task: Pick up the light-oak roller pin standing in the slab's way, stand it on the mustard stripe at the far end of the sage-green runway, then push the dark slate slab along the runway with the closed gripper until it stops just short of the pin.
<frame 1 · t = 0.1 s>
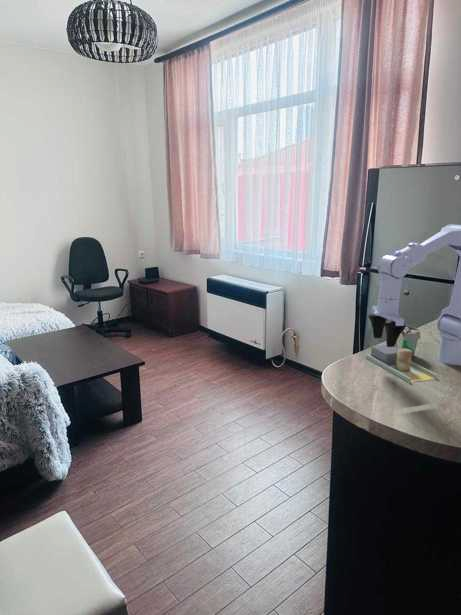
hand: (383, 342, 126), 10 cm above the countertop, fingers open, 7 cm apart
runway: (398, 370, 131), on the countertop
food container: (406, 358, 141), on the countertop
slab: (387, 360, 135), point 1 cm above the countertop, touching runway
roller pin: (402, 369, 129), point 1 cm above the countertop, touching runway
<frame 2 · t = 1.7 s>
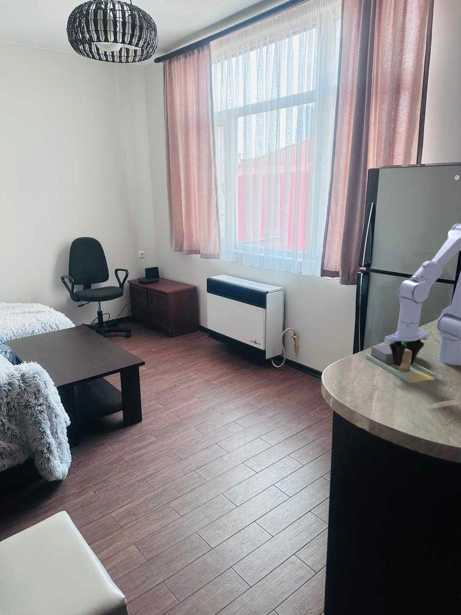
hand: (403, 364, 128), 3 cm above the countertop, fingers closed on roller pin, 4 cm apart
roller pin: (402, 369, 129), point 1 cm above the countertop, touching gripper, runway
everything else where it was.
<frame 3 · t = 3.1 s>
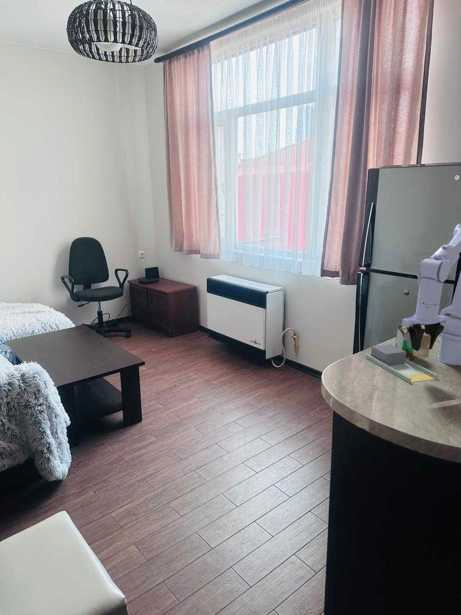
hand: (421, 348, 121), 10 cm above the countertop, fingers closed on roller pin, 4 cm apart
roller pin: (420, 355, 121), point 8 cm above the countertop, touching gripper
everything else where it was.
when the fingers open (4 cm above the countertop, at t = 4.6 s): roller pin stays where it is, resting on runway.
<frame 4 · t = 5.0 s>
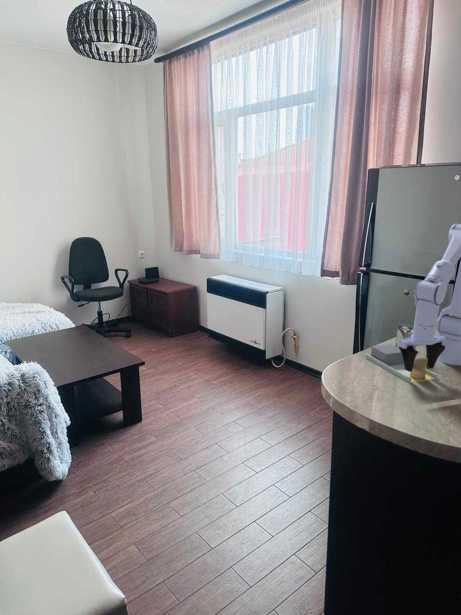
hand: (418, 368, 122), 4 cm above the countertop, fingers open, 7 cm apart
roller pin: (417, 377, 123), point 1 cm above the countertop, touching runway
everything else where it was.
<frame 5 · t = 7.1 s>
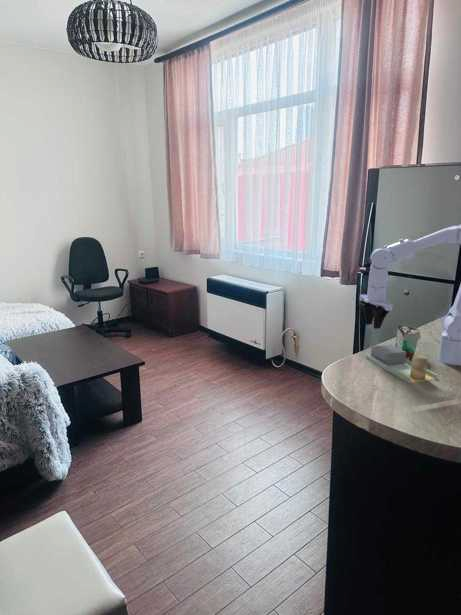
hand: (372, 326, 141), 10 cm above the countertop, fingers open, 4 cm apart
nothing on the countertop moved.
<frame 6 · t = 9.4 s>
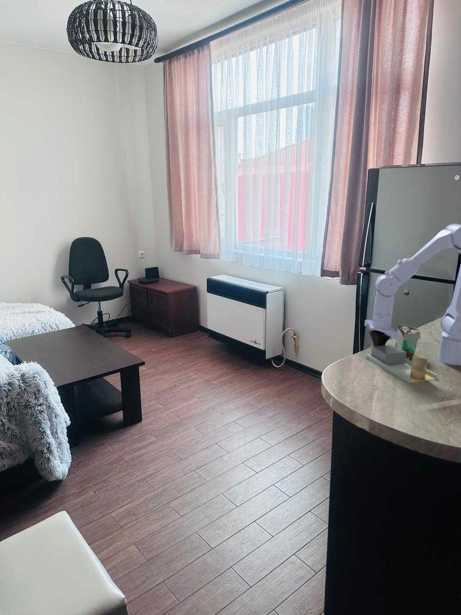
hand: (378, 352, 139), 2 cm above the countertop, fingers closed
slab: (387, 361, 135), point 1 cm above the countertop, touching gripper
everything else where it was.
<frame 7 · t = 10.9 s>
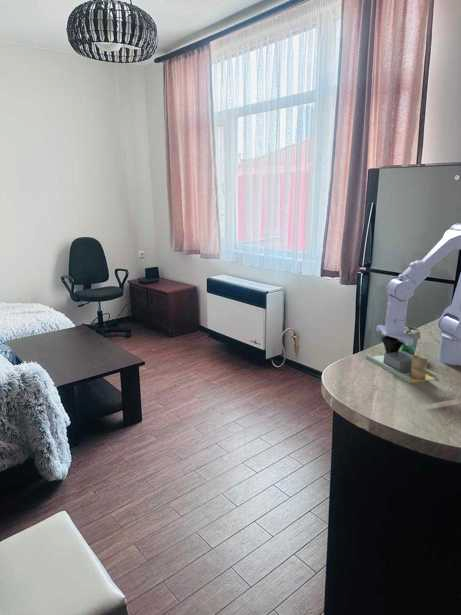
hand: (390, 359, 134), 2 cm above the countertop, fingers closed
slab: (400, 368, 129), point 1 cm above the countertop, touching gripper, runway
everything else where it was.
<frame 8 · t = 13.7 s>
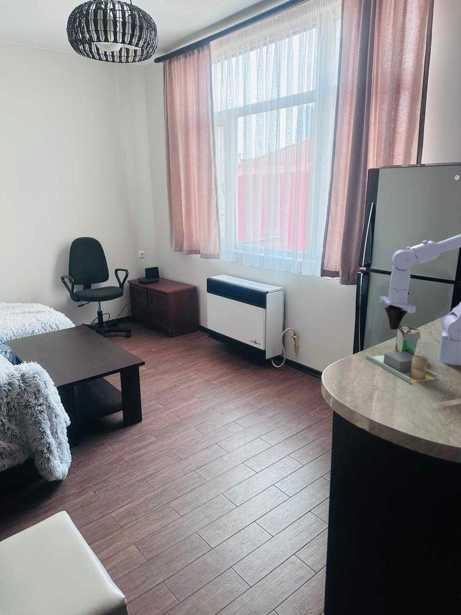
hand: (393, 328, 139), 10 cm above the countertop, fingers closed
slab: (400, 368, 129), point 1 cm above the countertop, touching runway
everything else where it was.
at the end: slab 0.1 cm from the target spot, point 1.0 cm above the countertop; roller pin 0.2 cm from the target spot, point 1.1 cm above the countertop; roller pin tilted 0° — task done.
